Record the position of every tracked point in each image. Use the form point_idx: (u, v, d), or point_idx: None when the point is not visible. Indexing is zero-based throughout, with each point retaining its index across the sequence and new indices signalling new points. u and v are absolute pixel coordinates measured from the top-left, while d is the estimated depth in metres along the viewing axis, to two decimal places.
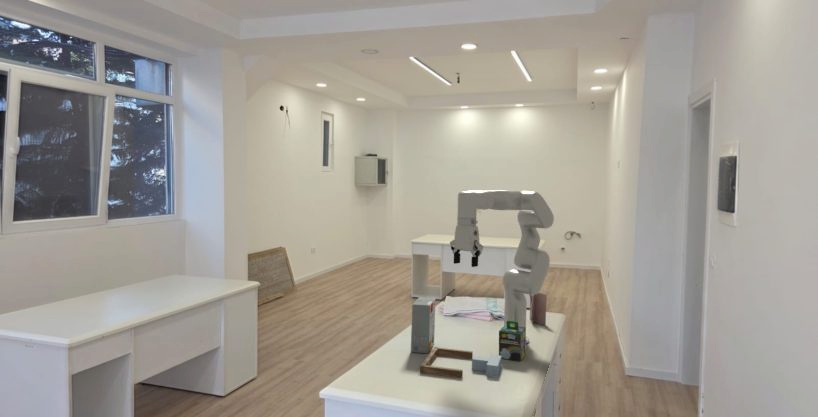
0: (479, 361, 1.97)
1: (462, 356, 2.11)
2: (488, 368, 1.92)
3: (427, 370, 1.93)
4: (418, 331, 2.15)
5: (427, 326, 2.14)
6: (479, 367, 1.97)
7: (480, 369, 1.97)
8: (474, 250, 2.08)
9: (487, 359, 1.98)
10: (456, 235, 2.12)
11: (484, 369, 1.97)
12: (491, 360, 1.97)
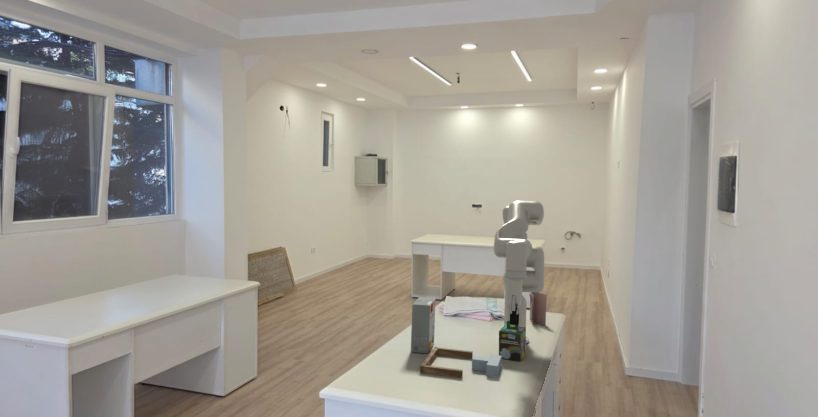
0: (479, 361, 1.97)
1: (462, 356, 2.11)
2: (488, 368, 1.92)
3: (427, 370, 1.93)
4: (418, 331, 2.15)
5: (427, 326, 2.14)
6: (479, 367, 1.97)
7: (480, 369, 1.97)
8: None
9: (487, 359, 1.98)
10: (520, 291, 1.90)
11: (484, 369, 1.97)
12: (491, 360, 1.97)
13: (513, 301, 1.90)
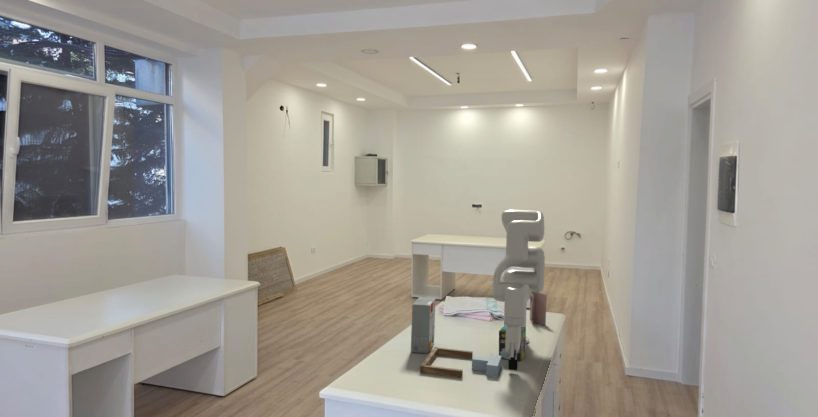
0: (479, 361, 1.97)
1: (462, 356, 2.11)
2: (488, 368, 1.92)
3: (427, 370, 1.93)
4: (418, 331, 2.15)
5: (427, 326, 2.14)
6: (479, 367, 1.97)
7: (480, 369, 1.97)
8: None
9: (487, 359, 1.98)
10: (519, 338, 1.91)
11: (484, 369, 1.97)
12: (491, 360, 1.97)
13: (512, 348, 1.91)
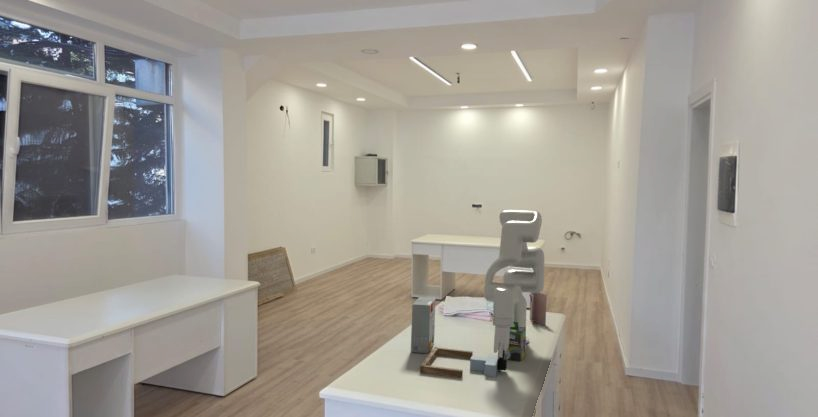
0: (477, 361, 1.97)
1: (462, 356, 2.11)
2: (486, 368, 1.92)
3: (427, 370, 1.93)
4: (418, 331, 2.15)
5: (427, 326, 2.14)
6: (477, 367, 1.97)
7: (478, 369, 1.97)
8: None
9: (485, 359, 1.98)
10: (507, 338, 1.92)
11: (482, 369, 1.97)
12: (489, 360, 1.97)
13: (500, 348, 1.92)
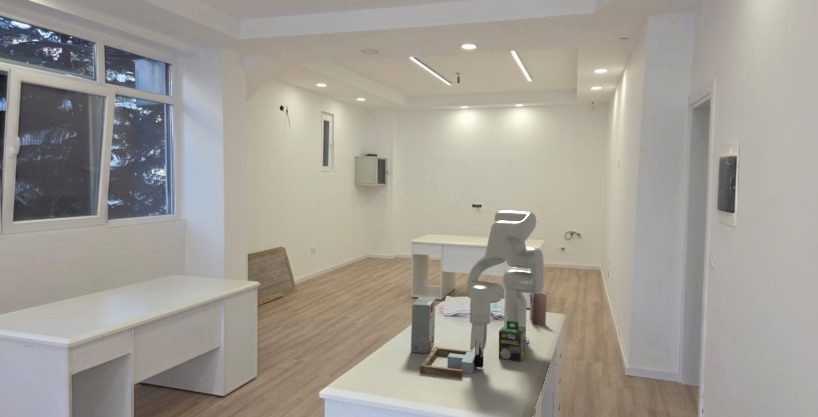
0: (454, 358, 2.00)
1: None
2: (463, 365, 1.95)
3: (427, 370, 1.93)
4: (418, 331, 2.15)
5: (427, 326, 2.14)
6: (455, 364, 2.00)
7: (456, 366, 2.00)
8: None
9: (462, 356, 2.00)
10: (484, 336, 1.95)
11: (459, 366, 1.99)
12: (466, 357, 2.00)
13: (477, 345, 1.94)
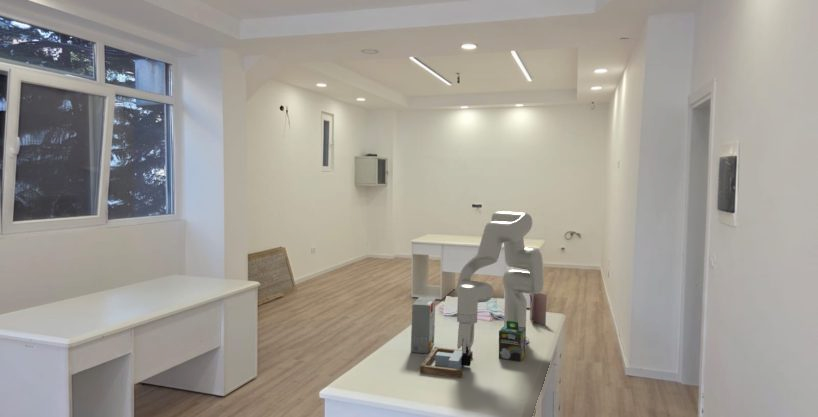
0: (442, 357, 2.01)
1: None
2: (450, 363, 1.96)
3: (427, 370, 1.93)
4: (418, 331, 2.15)
5: (427, 326, 2.14)
6: (442, 363, 2.01)
7: (443, 365, 2.01)
8: None
9: (450, 355, 2.02)
10: (471, 334, 1.96)
11: (447, 365, 2.01)
12: (454, 356, 2.01)
13: (464, 344, 1.96)
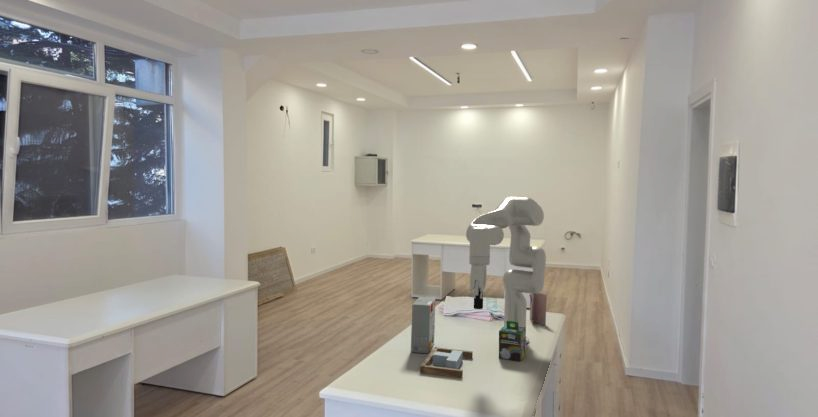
0: (440, 356, 2.01)
1: None
2: (447, 363, 1.96)
3: (427, 370, 1.93)
4: (418, 331, 2.15)
5: (427, 326, 2.14)
6: (440, 363, 2.01)
7: (441, 364, 2.01)
8: None
9: (447, 355, 2.02)
10: (483, 276, 1.94)
11: (444, 364, 2.01)
12: (451, 355, 2.01)
13: (476, 286, 1.93)
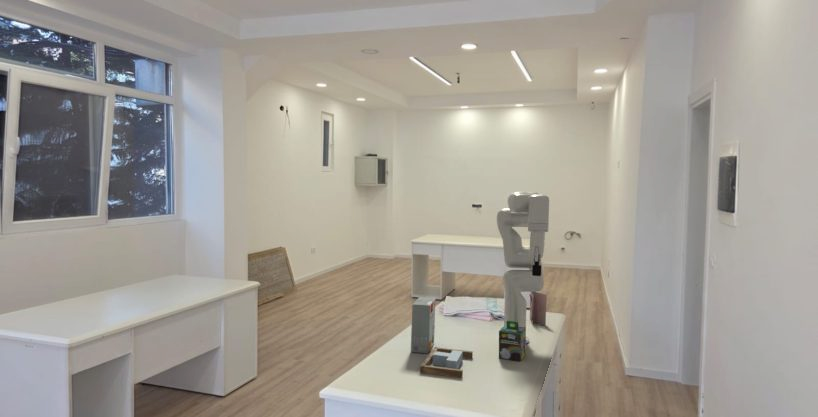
0: (440, 356, 2.01)
1: None
2: (447, 363, 1.96)
3: (427, 370, 1.93)
4: (418, 331, 2.15)
5: (427, 326, 2.14)
6: (440, 363, 2.01)
7: (441, 364, 2.01)
8: None
9: (447, 355, 2.02)
10: (543, 243, 1.97)
11: (444, 364, 2.01)
12: (451, 355, 2.01)
13: (536, 252, 1.96)
